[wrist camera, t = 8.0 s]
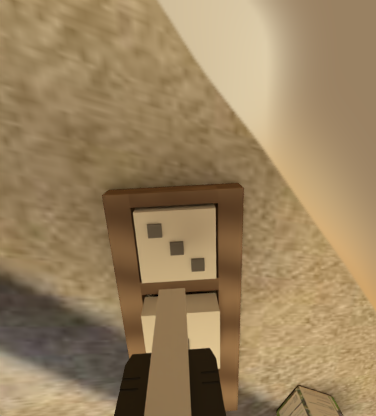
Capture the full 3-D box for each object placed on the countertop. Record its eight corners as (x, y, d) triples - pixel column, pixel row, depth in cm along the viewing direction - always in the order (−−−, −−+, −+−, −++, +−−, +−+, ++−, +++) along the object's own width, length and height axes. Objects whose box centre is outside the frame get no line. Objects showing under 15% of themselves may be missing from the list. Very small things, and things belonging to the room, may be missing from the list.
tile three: (137, 204, 22) (132, 214, 19) (211, 200, 22) (216, 209, 20) (145, 268, 24) (141, 285, 22) (212, 264, 24) (216, 280, 22)
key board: (108, 189, 22) (102, 195, 20) (238, 183, 22) (243, 188, 20) (141, 399, 30) (139, 417, 28) (233, 392, 31) (237, 410, 29)
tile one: (144, 297, 23) (140, 318, 20) (215, 292, 23) (220, 313, 20) (151, 350, 25) (148, 376, 23) (216, 346, 25) (220, 371, 23)
